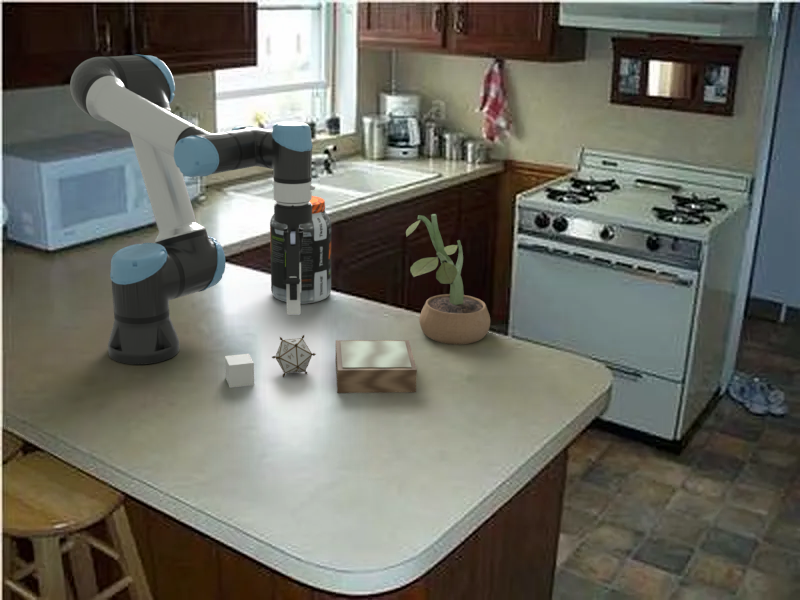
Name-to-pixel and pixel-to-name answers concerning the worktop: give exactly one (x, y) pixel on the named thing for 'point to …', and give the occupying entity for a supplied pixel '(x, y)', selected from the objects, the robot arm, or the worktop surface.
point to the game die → (293, 355)
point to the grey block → (239, 370)
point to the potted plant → (449, 295)
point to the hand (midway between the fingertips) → (294, 302)
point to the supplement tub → (314, 253)
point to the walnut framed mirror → (375, 366)
